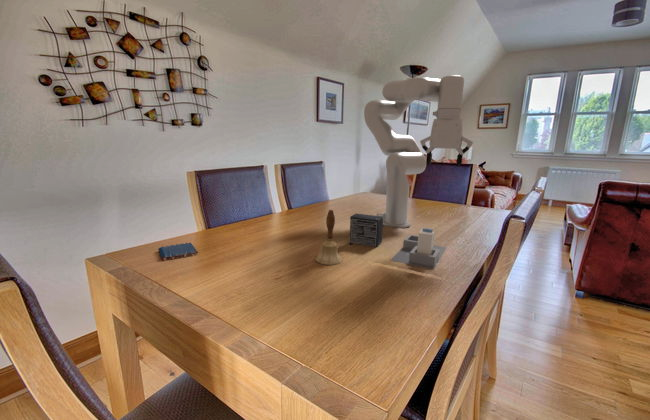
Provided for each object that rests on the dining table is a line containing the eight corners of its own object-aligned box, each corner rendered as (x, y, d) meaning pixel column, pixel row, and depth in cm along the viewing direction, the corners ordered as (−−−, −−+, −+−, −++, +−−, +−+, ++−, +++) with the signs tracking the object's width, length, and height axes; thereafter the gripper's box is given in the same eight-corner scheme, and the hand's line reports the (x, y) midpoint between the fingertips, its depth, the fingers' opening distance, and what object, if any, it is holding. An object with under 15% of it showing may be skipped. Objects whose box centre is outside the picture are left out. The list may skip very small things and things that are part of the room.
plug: (416, 261, 96) (418, 230, 94) (418, 257, 100) (421, 227, 97) (429, 263, 94) (432, 232, 92) (432, 259, 98) (435, 229, 96)
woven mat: (199, 256, 100) (198, 250, 100) (162, 263, 94) (161, 256, 94) (192, 246, 109) (192, 241, 108) (158, 252, 103) (157, 246, 102)
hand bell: (345, 257, 101) (347, 208, 97) (337, 266, 93) (339, 214, 89) (321, 253, 103) (321, 206, 100) (311, 262, 96) (312, 211, 92)
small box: (382, 244, 114) (384, 215, 111) (377, 249, 108) (379, 220, 106) (354, 239, 118) (356, 212, 116) (348, 244, 112) (349, 216, 110)
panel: (390, 262, 97) (390, 250, 96) (409, 242, 115) (409, 233, 115) (433, 272, 90) (435, 259, 90) (446, 249, 109) (447, 239, 108)
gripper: (420, 114, 108) (416, 164, 112) (475, 113, 100) (468, 167, 104) (425, 116, 115) (421, 163, 118) (477, 115, 106) (471, 166, 110)
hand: (443, 165), depth 111 cm, fingers open, 9 cm apart
